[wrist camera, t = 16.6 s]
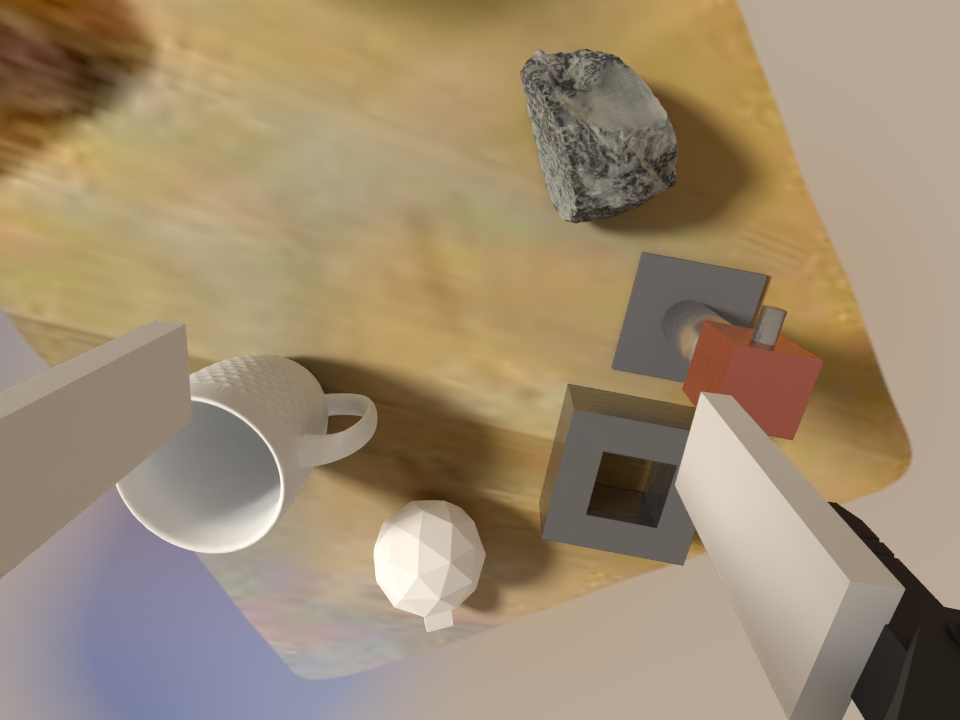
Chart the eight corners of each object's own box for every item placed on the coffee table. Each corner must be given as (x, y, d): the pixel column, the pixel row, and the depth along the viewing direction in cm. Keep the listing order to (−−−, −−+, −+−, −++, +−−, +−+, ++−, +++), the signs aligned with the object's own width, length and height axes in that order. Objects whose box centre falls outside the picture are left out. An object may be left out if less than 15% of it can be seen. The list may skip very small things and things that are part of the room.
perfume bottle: (362, 486, 46) (382, 592, 51) (370, 566, 38) (393, 682, 43) (464, 465, 48) (474, 569, 53) (493, 538, 40) (501, 652, 45)
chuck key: (672, 265, 40) (747, 309, 27) (733, 276, 40) (837, 325, 27) (643, 368, 43) (698, 454, 29) (700, 379, 43) (781, 470, 29)
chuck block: (568, 383, 44) (573, 409, 39) (705, 409, 44) (728, 438, 39) (539, 502, 47) (541, 538, 43) (667, 526, 47) (683, 565, 43)
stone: (510, 144, 29) (705, 154, 29) (523, 12, 33) (696, 18, 32) (508, 247, 38) (657, 256, 37) (519, 134, 42) (654, 140, 41)
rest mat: (642, 252, 40) (643, 252, 40) (765, 274, 40) (767, 275, 40) (611, 367, 43) (612, 368, 43) (726, 388, 43) (728, 390, 43)
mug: (383, 323, 43) (329, 382, 31) (405, 450, 47) (363, 548, 34) (203, 339, 45) (83, 401, 33) (236, 461, 48) (138, 559, 36)
